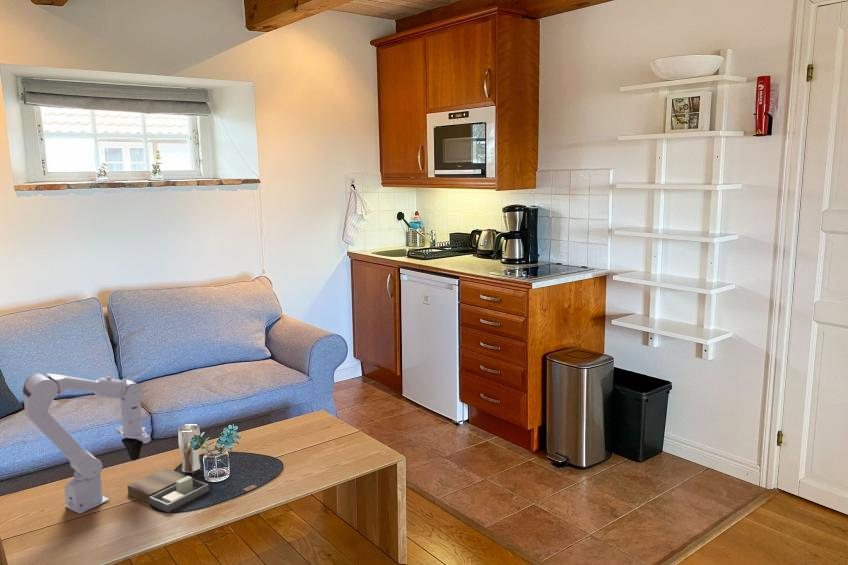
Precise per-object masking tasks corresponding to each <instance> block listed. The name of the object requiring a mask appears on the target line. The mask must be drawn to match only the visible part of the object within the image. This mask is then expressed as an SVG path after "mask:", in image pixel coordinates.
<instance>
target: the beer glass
mask: <svg viewBox="0 0 848 565" xmlns="http://www.w3.org/2000/svg"><path fill="white" fill-rule="evenodd" d="M177 433H178V434H177V436H178V440H177V441H178V447H179V452H180V456H181V459H182V461H181V462H182V466H181V472H182V471H183V472H193V471H196V470H198V469H200V467H201V468H202V466H201V462H200V452H201V451H200V449H201V447H200V448H199V449H197V450H193V448H192V446H191V443H190V441H191V439H192V438H193V437H194V435H200V436H201V431H200V426H199V425H198V424H196V423H195V424H193V423H191V424H190V423H189V424H184V425H182V426H179V428H178V432H177ZM200 470H201V469H200ZM183 472H182V473H183Z"/></svg>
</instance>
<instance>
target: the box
mask: <svg viewBox="0 0 848 565" xmlns="http://www.w3.org/2000/svg"><path fill="white" fill-rule="evenodd" d="M192 481H193V487H196V488H193V491H192V492H189V493H187V494H185V495H184V496H182V497H180V498H178V499H176V500H174V501H172V502H170V503H165V502H163V501H162V497H163V496H166V495H168V494H170V493H172V492H174V491H176V484H175V485H173V486H171V487H169V488H167V489H165V490H163V491H161V492H158V493H156V494H154V495H152V496H150V497H149V503H148V505H149V506H151V507H154V508H156V509H159V510H160V511H163V512H166V513H171V512H173V511H174V510H176V509H178V508H180V507H182V506H184V505H186V504H188V503H190V502H192V501H193V500H196V499H198V498H200V497H201V496H200V495H202V494H203V493H205V492H207V491H210V488H209V486H210V485H209V484H208V483H206V482H203V481H201V480H198V479H196V478H193V477H192ZM176 492H177V491H176ZM199 496H200V497H199ZM202 496H203V495H202ZM197 497H198V498H197ZM195 498H196V499H195Z"/></svg>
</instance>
